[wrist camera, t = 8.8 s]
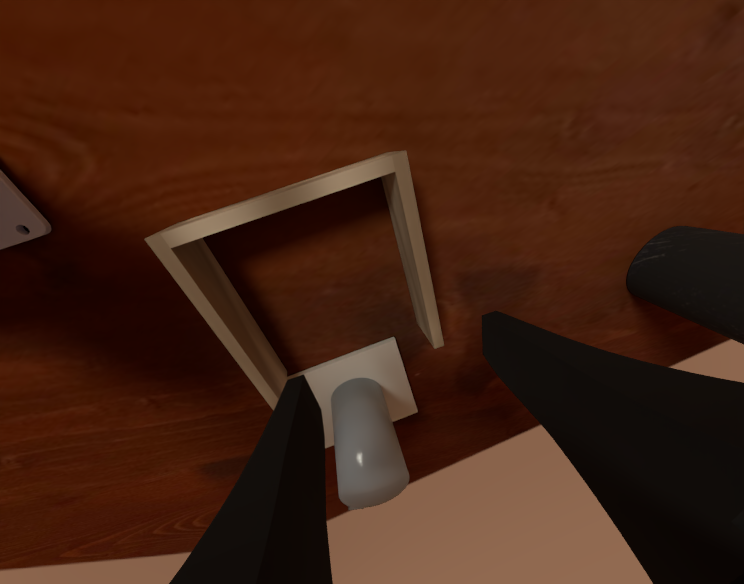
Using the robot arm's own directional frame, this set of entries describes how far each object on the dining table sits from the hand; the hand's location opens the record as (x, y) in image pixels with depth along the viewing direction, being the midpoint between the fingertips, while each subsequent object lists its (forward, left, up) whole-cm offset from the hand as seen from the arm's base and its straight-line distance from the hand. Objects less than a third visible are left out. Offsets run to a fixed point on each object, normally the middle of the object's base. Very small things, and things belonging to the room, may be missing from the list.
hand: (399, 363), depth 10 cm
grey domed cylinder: (-5, -13, -9) cm, 16 cm away
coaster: (-4, -12, -10) cm, 16 cm away
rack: (-2, 0, -10) cm, 10 cm away
